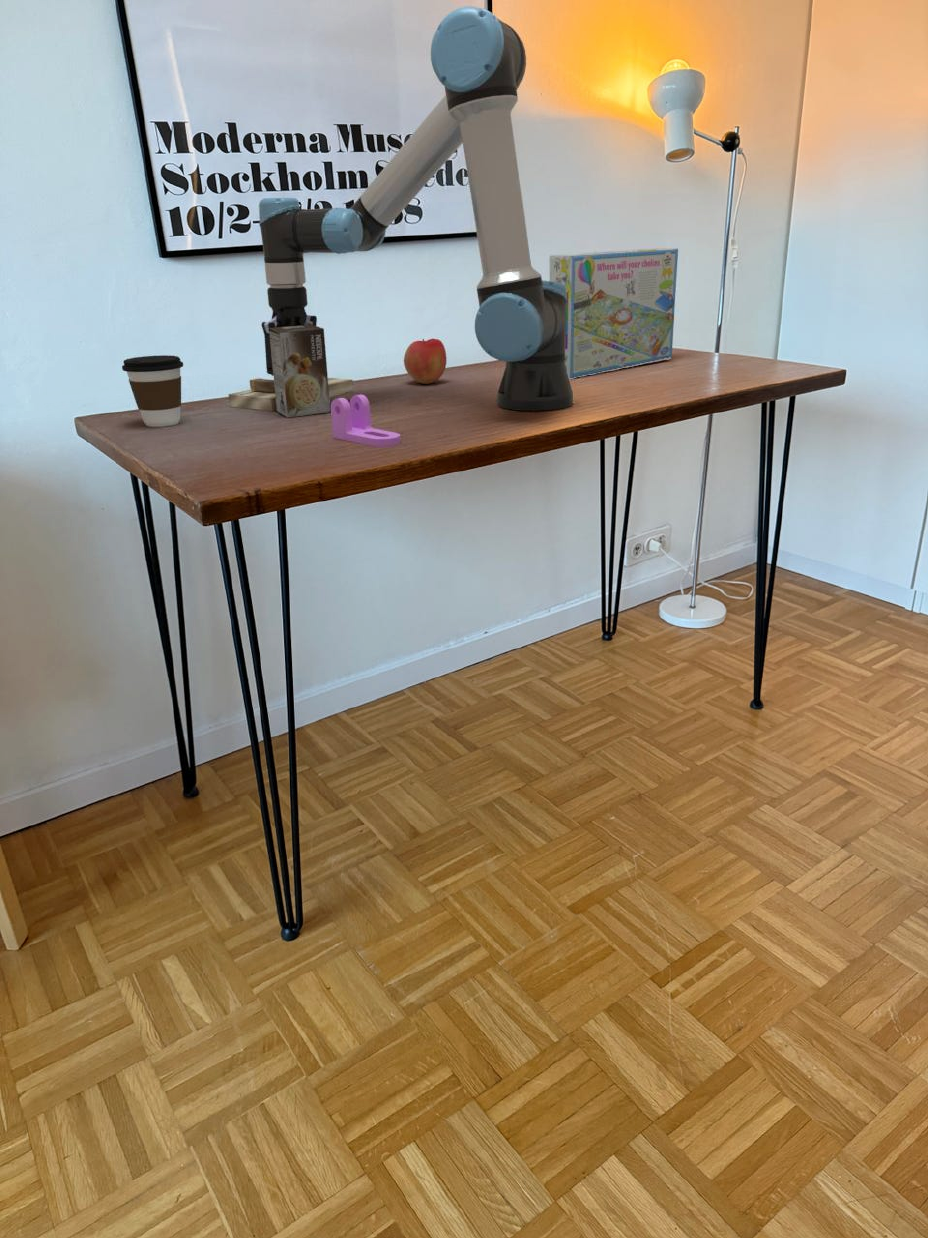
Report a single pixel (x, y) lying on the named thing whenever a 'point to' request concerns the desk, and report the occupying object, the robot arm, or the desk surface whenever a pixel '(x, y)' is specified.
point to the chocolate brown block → (262, 385)
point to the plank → (268, 399)
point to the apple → (425, 360)
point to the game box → (617, 307)
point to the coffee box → (299, 370)
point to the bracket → (358, 423)
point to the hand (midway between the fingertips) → (298, 405)
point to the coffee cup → (156, 388)
